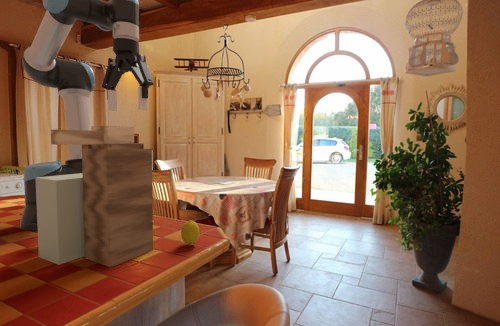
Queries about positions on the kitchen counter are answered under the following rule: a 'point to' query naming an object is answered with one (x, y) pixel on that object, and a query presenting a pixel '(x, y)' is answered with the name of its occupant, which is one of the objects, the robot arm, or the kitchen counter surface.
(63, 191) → the sage block
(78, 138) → the mallet
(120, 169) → the walnut stand
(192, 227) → the lemon
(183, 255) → the kitchen counter surface
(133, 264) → the kitchen counter surface
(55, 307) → the kitchen counter surface
